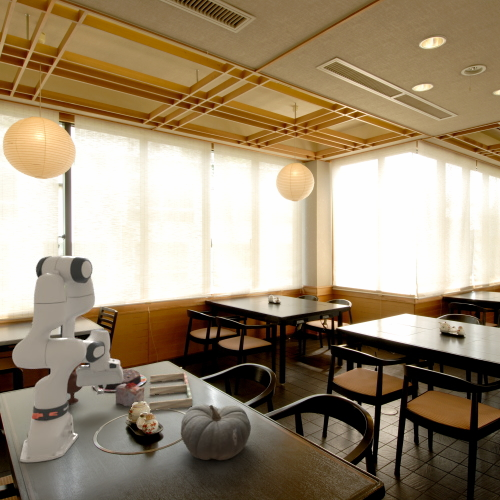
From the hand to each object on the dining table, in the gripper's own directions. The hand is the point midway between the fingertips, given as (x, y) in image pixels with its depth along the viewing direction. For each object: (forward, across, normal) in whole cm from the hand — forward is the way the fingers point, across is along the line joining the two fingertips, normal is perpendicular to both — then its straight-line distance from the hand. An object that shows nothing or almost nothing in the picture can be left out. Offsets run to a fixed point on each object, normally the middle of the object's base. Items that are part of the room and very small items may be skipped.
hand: (100, 394), depth 180 cm
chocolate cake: (+7, +6, +32) cm, 33 cm away
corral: (+6, +32, +10) cm, 33 cm away
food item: (+6, +13, 0) cm, 14 cm away
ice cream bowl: (+6, -14, +11) cm, 19 cm away
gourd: (+6, +46, -52) cm, 69 cm away
